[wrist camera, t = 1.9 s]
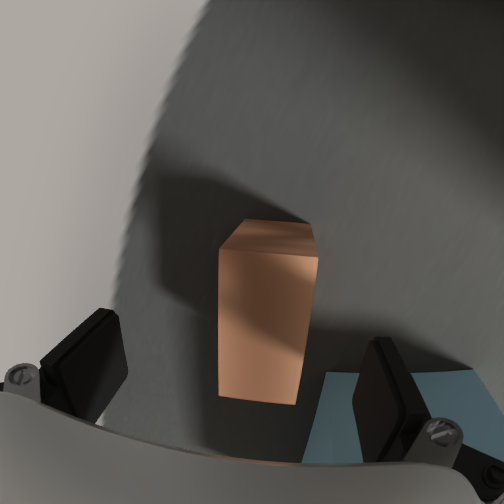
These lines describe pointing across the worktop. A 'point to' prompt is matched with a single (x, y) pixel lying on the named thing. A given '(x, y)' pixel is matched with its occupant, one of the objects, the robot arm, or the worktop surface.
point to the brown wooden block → (265, 309)
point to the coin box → (436, 399)
